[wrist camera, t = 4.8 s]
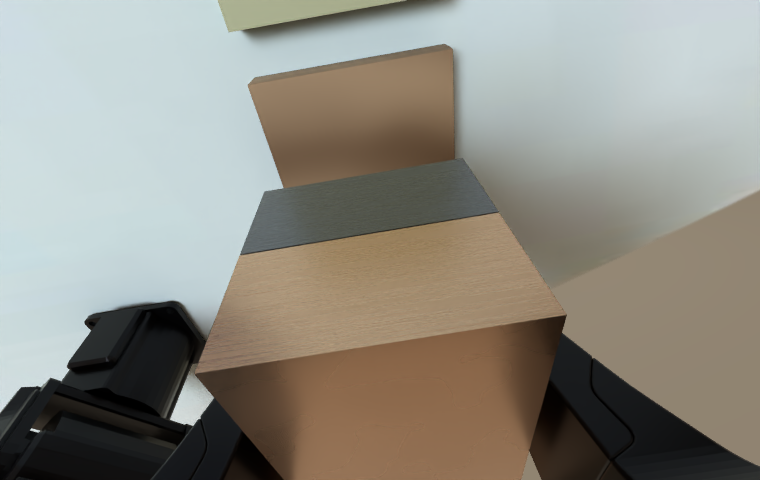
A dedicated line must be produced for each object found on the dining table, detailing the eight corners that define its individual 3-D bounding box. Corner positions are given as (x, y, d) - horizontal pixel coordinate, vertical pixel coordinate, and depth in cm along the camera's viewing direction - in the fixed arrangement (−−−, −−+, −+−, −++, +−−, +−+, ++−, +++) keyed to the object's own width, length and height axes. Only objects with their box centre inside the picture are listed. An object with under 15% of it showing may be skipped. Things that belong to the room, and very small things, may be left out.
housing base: (462, 334, 13) (484, 400, 11) (329, 356, 13) (326, 424, 11) (462, 157, 9) (498, 211, 7) (264, 191, 9) (240, 254, 7)
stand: (449, 207, 21) (455, 221, 20) (306, 231, 22) (304, 246, 20) (444, 44, 16) (452, 48, 15) (254, 77, 16) (247, 85, 15)
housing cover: (484, 400, 11) (516, 496, 9) (326, 424, 11) (322, 524, 9) (499, 212, 7) (566, 315, 5) (239, 255, 7) (194, 373, 5)
